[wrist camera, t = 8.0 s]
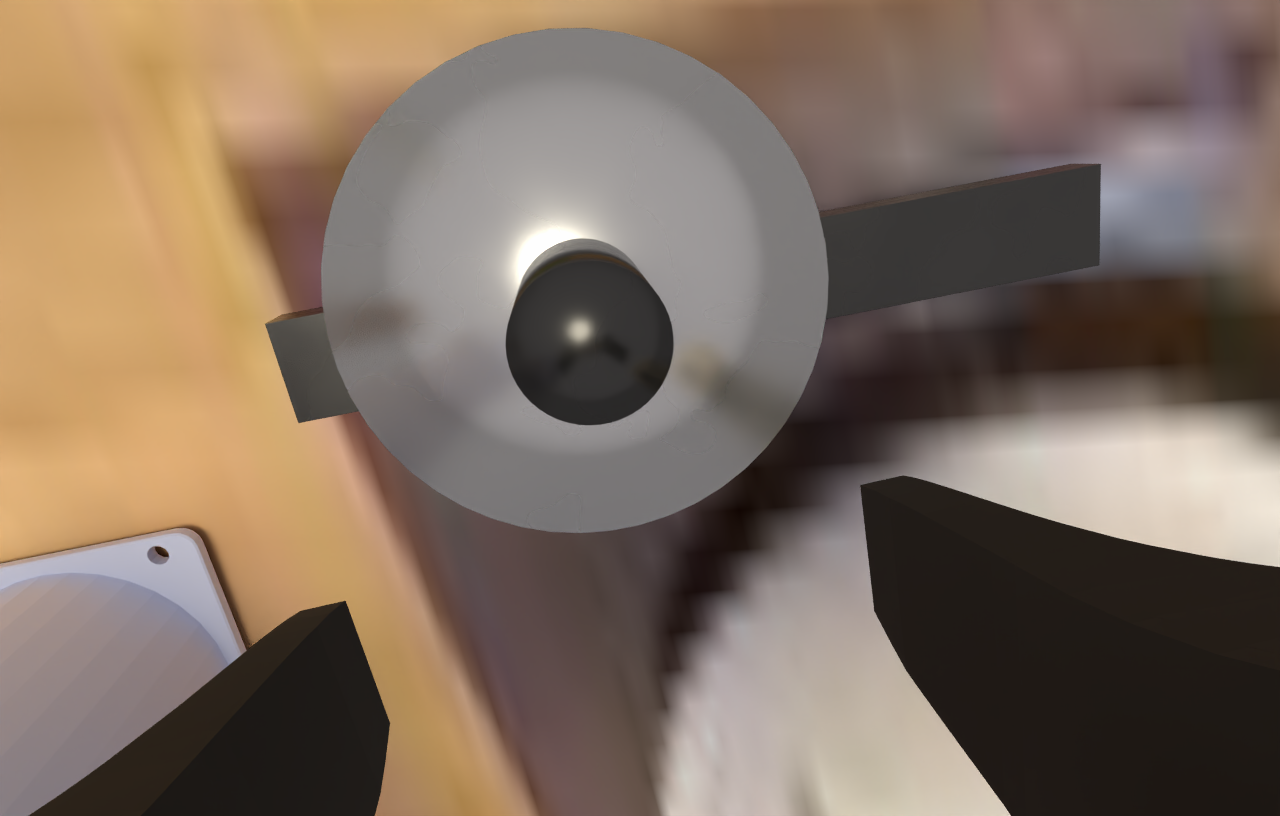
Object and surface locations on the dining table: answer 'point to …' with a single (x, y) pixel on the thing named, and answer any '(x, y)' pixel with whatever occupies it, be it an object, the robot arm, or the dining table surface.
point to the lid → (574, 280)
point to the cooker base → (848, 260)
